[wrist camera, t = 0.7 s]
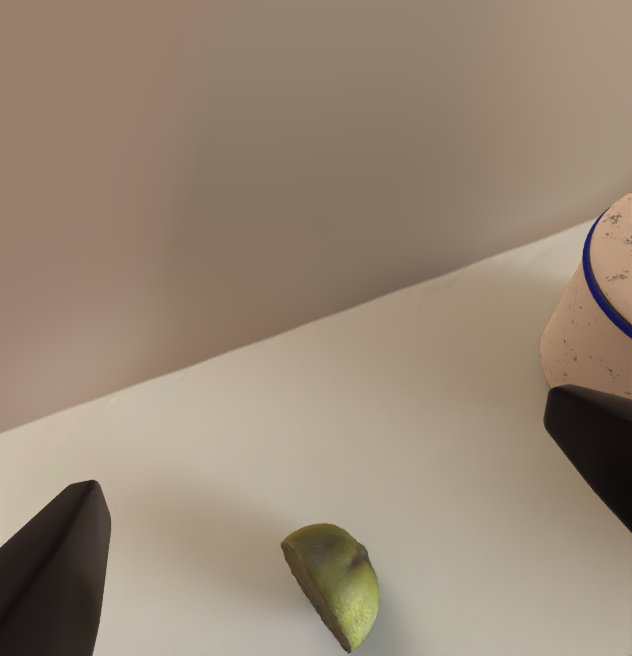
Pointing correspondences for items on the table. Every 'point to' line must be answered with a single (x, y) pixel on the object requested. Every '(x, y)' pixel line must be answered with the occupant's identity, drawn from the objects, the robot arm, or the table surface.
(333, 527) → the lime
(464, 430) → the table surface
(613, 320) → the teacup with lid
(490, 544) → the table surface
